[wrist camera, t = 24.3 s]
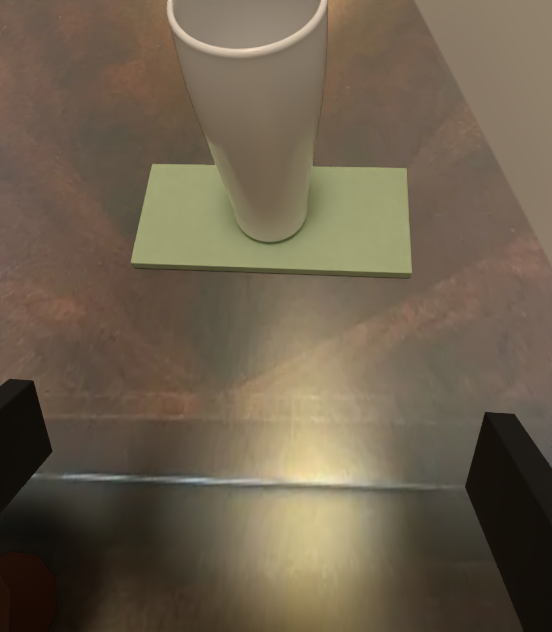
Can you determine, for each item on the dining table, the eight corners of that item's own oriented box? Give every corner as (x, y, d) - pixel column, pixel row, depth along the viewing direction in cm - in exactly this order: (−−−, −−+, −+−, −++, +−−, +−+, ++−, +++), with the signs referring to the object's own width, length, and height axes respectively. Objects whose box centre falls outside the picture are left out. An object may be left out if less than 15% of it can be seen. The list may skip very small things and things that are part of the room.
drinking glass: (252, 166, 32) (215, -70, 18) (332, 195, 31) (357, -36, 17) (209, 233, 30) (130, 26, 16) (292, 268, 29) (283, 74, 15)
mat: (404, 174, 32) (406, 167, 31) (409, 278, 29) (412, 273, 28) (155, 170, 34) (152, 163, 33) (134, 268, 31) (130, 262, 30)
